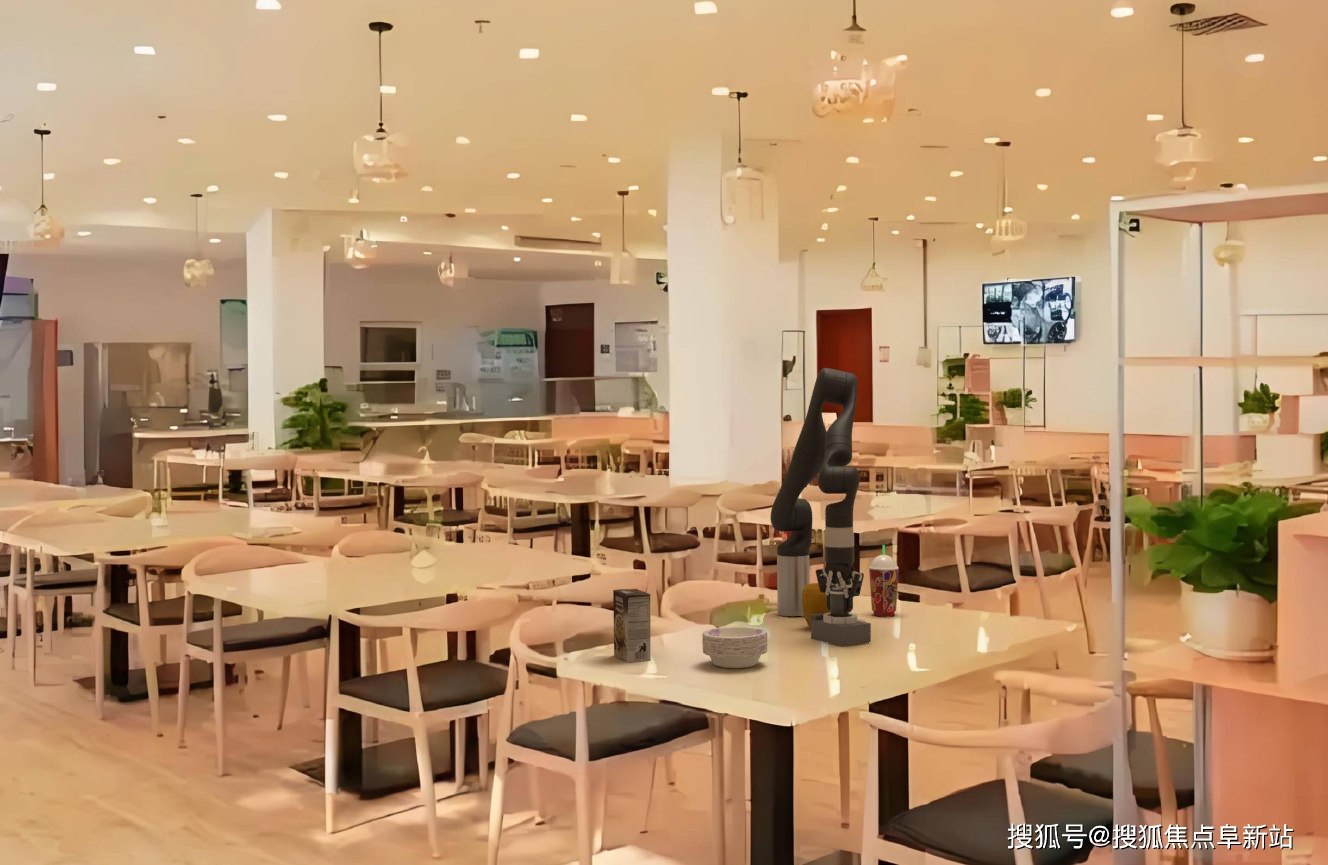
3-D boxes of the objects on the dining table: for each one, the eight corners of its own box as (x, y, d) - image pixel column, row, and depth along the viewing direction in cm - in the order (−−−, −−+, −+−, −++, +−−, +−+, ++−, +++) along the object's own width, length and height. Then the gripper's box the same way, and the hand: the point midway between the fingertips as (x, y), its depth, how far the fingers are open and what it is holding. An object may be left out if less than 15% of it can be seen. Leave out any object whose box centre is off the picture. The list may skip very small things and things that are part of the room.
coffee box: (612, 655, 308) (612, 589, 307) (637, 653, 310) (636, 587, 310) (626, 662, 299) (625, 594, 299) (651, 660, 302) (651, 593, 302)
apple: (823, 634, 333) (822, 585, 333) (793, 628, 341) (792, 581, 341) (850, 628, 340) (850, 581, 340) (820, 623, 349) (820, 577, 348)
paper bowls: (702, 658, 304) (702, 625, 304) (766, 658, 304) (765, 625, 303) (702, 672, 289) (702, 637, 289) (769, 671, 288) (769, 637, 288)
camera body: (810, 638, 327) (810, 613, 327) (838, 634, 332) (838, 609, 332) (842, 646, 316) (842, 620, 316) (870, 642, 321) (870, 617, 320)
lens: (837, 618, 327) (836, 585, 327) (852, 619, 324) (851, 587, 324) (826, 620, 323) (826, 587, 323) (842, 622, 320) (841, 589, 320)
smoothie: (901, 617, 357) (900, 546, 356) (871, 617, 357) (871, 547, 356) (896, 612, 365) (895, 543, 365) (867, 612, 365) (866, 543, 365)
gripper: (871, 545, 321) (871, 612, 321) (825, 541, 331) (826, 606, 331) (853, 547, 316) (853, 616, 316) (807, 543, 326) (808, 609, 326)
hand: (839, 610), depth 324 cm, fingers closed on lens, 4 cm apart
